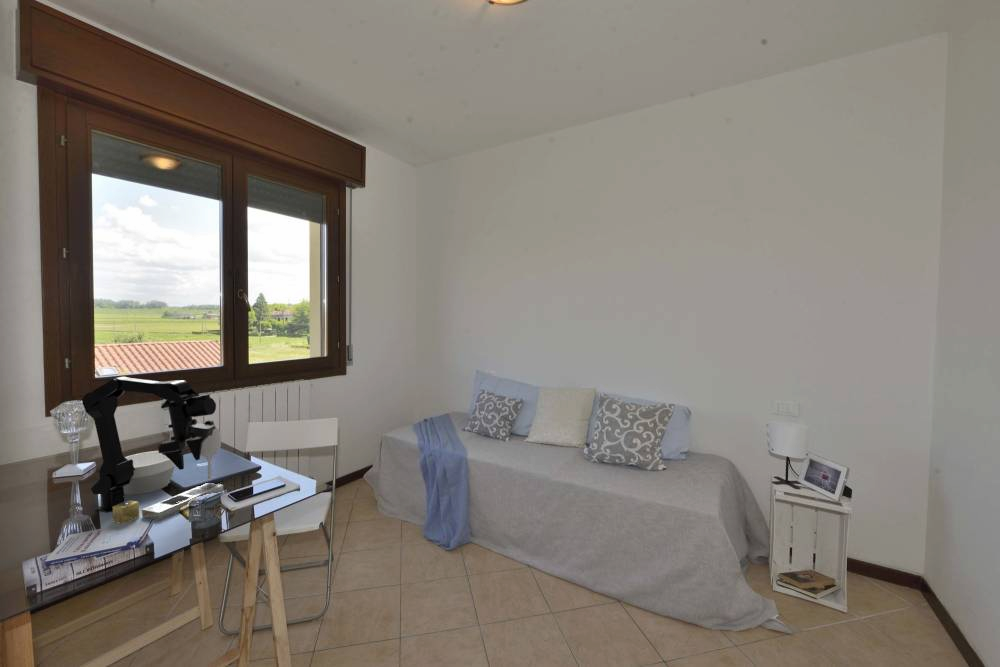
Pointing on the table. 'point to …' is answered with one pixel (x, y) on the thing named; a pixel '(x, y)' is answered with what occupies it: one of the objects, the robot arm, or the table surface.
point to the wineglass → (211, 448)
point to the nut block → (125, 511)
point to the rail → (168, 507)
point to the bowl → (149, 473)
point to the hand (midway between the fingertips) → (190, 464)
